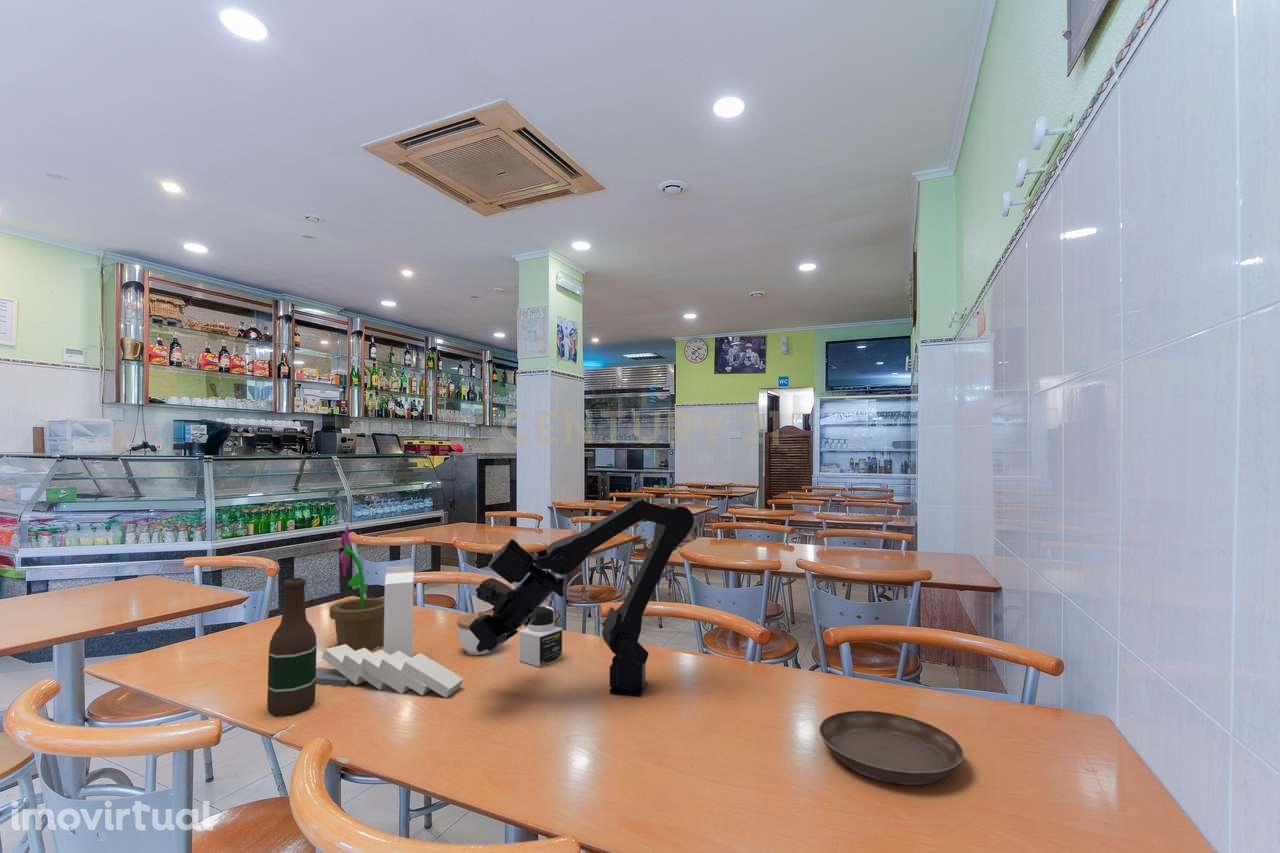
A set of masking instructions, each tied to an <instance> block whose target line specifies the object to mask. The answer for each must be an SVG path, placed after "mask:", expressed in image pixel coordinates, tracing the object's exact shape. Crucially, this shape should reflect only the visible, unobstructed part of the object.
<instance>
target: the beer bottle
mask: <svg viewBox="0 0 1280 853" xmlns="http://www.w3.org/2000/svg"><path fill="white" fill-rule="evenodd" d="M306 585H307V580H306V578H304V577H303V578H302V577H292V578H288V579H287V580H284V582H283V585H282V587H283V588H284V593H283V594H284V595H283V604H282V606H283V607H282V617H281V619H280V624H279V626H278V627H277V628H276V629H275V631H274V632H273V633H272V634H273V635H272V636H271V639H270V641H269V648H268V660H267V661H268V662H267V663H268V664H267V666H268V670H267V697H266V699H267V700H266V702H267V712H268V713H269V714H271V715H272V716H274V717H287V716H289V717H290V716H295V715H297V714H300V713H303V712H305V711H308V710H309V709H310V708H311V707H312V706H313V705H314V704H315V700H316V688H317V687H316V686H317V685H316V668H317V647H318V646H317V634H316V632H315V629H314V628H313V626H312V624H311V623H310V622H309V621H308V617H307V612H306V594H305V593H306V592H305V586H306Z"/></svg>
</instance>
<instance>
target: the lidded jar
mask: <svg viewBox="0 0 1280 853" xmlns="http://www.w3.org/2000/svg"><path fill="white" fill-rule="evenodd" d="M493 613H494V612H483V611H482V610H481V611H480V610H479V611H478V612H477V613H470V614H467V615H464V616H461V617H459V618H458V619H457V621H456V622H457V623H456V624H457V636H458V641H459V644H460V646H461V647H462V649H463V650H464V651H466V654H468V655H472V656H482V655H486V654H490V653H492V652H493V651H494V650H492V651H488V650H487V649H486V650H484V651H482V652H478V651H477V649H476V647H477V645H478V643H479V640H478V639H477V638H476V636H475V635H474V634H473V633H472V632H471V631H470V629H469V625H470V624H471V623H472V622H473V621H474V620H475V619H477V618H478V617H480V616H482V615H484V614H488V615H491V616H492V614H493Z"/></svg>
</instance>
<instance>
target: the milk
mask: <svg viewBox="0 0 1280 853" xmlns="http://www.w3.org/2000/svg"><path fill="white" fill-rule="evenodd" d="M414 576H415V568H414V565H404V566H403V565H402V566H400V565H399V566H387V567H386V568H385V578H384V599H385V605H384V641H383V651H384V652H385V653H387V654H389V655H391V654H393V653H395V652H397V651H401V652H402V653H404V654H405V655H407V656H409V657H410V658H412V657H413V648H414V645H413V644H414V643H413V641H414V638H413V637H414V589H415V588H414V584H415V583H414V580H415V579H414V578H415V577H414Z"/></svg>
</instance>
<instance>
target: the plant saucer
mask: <svg viewBox="0 0 1280 853" xmlns="http://www.w3.org/2000/svg"><path fill="white" fill-rule="evenodd" d="M818 728H819V730H818V731H819V735H820V738H821V739H822V741H823V742H824V744H825V746H826V747H827V748H828V750H829V751H830V752H831V753H832V754H833V756H835V757H836V758H837V760H838V761H839V762H841V763H842V764H844V765H845V766H847V767H848V768H850V769H851V770H852V771H854V772H856V773H858V774H860V775H863V776H865V777H868V778H871V779H875V780H877V781H880V782H884V783H890V784H896V785H904V786H905V785H907V786H920V785H928V784H933V783H935V782H936V783H937V782H939V781H940V780H941V781H942V780H943V779H944V778H947V777H948V776H949V775H950V774H952V773H953V772H955V771H956V770H957V769H958V768H959V766H960V765H961V763H962V761H963V760H964V755H965V753H964V750H963V747H962V746H961V745H960V743H959V741H957V740H956V739H955V738H954V737H953V736H951V735H950V734H949V733H947V732H945V731H943V730H942V729H940V728H938V727H937V726H934V725H931V724H930V723H927V722H925V721H922V720H919V719H916V718H913V717H909V716H905V715H902V714H897V713H891V712H885V711H876V710H850V711H849V710H847V711H841V712H838V713H834V714H831V715H829V716H827V717H826V718H824V719H823V720H822V721H821V723H820V725H819V726H818Z"/></svg>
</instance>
